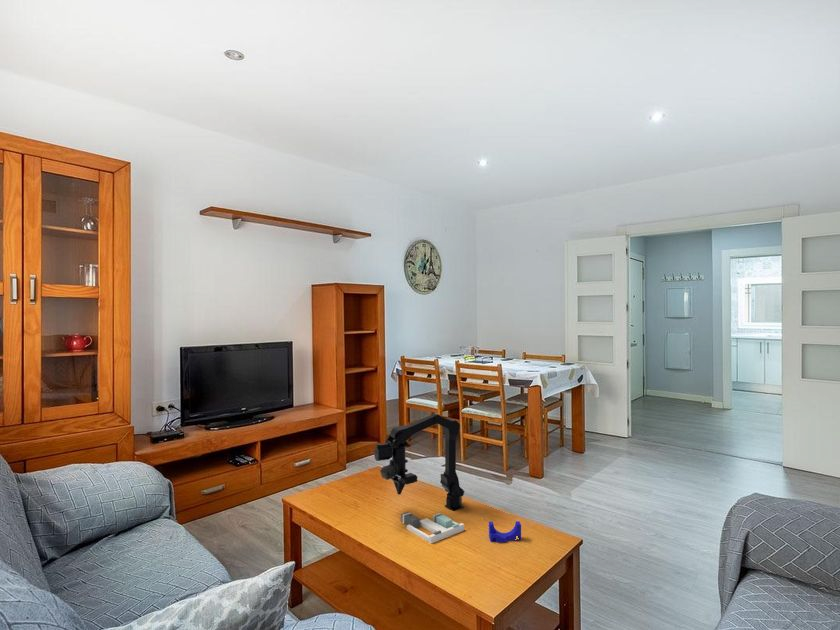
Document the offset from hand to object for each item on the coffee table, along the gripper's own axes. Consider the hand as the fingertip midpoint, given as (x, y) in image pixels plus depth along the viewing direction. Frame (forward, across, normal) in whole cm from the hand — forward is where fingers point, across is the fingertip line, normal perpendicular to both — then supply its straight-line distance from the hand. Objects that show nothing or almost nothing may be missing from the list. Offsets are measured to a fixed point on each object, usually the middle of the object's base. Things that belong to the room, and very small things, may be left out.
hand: (399, 494), depth 201 cm
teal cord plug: (+10, +17, +9) cm, 22 cm away
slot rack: (+10, +18, +5) cm, 21 cm away
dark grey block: (+10, +8, 0) cm, 13 cm away
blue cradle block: (+11, +41, +21) cm, 47 cm away
